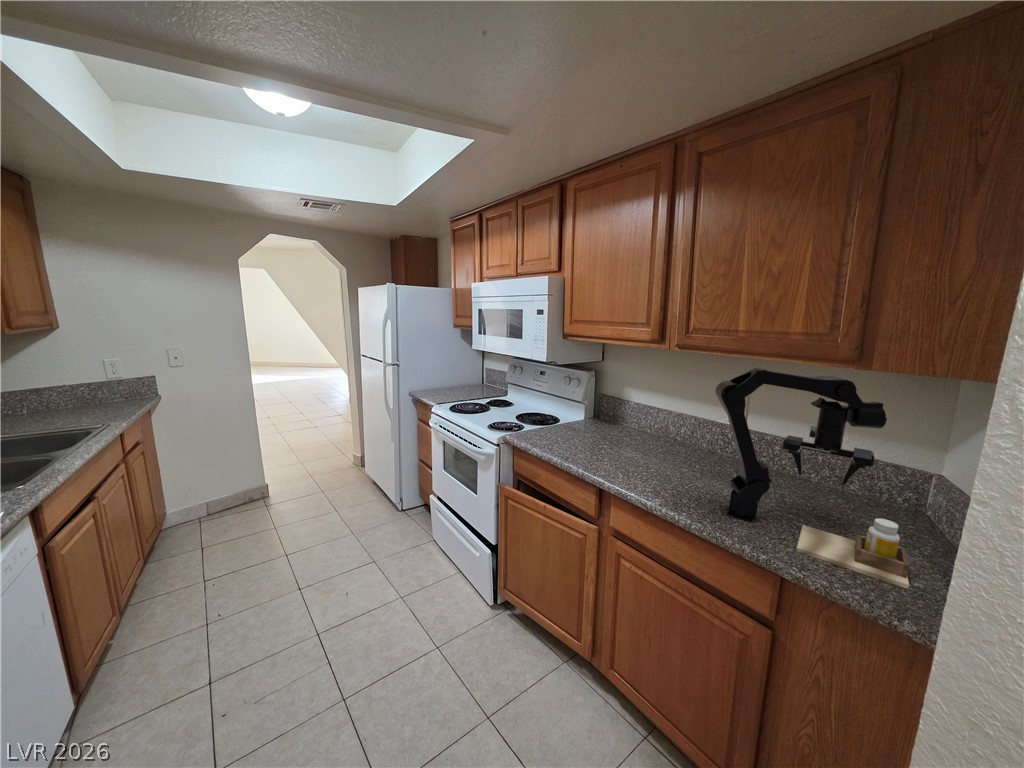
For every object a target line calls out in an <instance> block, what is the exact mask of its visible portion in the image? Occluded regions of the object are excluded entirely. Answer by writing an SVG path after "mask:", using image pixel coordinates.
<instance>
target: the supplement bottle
mask: <svg viewBox="0 0 1024 768" xmlns="http://www.w3.org/2000/svg"><path fill="white" fill-rule="evenodd" d="M898 532H899V525H898V524H897V523H896V522H894V521H892V520H888V519H885V518H875V519H874V522H873V525H872V526H870V527H869V528H868V529H867V534H866V536H865V537H866V542H865V546H864V550H865V551H868V552H871V553H875V554H878V555H881V556H884V557H888V558H891V559H894V560H895V558H896V554H897V550H898V546H899V547H900V541H901V538H900V534H898Z"/></svg>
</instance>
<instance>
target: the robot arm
mask: <svg viewBox="0 0 1024 768" xmlns="http://www.w3.org/2000/svg"><path fill="white" fill-rule="evenodd" d="M763 385H768V386H773V387H774V386H775V387H781V388H785V389H792V390H798V391H805V392H809V393H812V394H816V395H819V396H822V397H818V399H816V400H814V401H812V402H810V405H811V406H813V407H815V408H818V409H819V412H818V417H817V423H816V426H815V425H810V426H811V427H810V432H809V438H814V439H813V442H806V441H804V438H803V437H799V436H793V435H787V436H785V438H784V440H783V443H782V449H784V450H786V451H787V453H788V454H791V455H792V457H793V459H794V462H795V465H796V468H797V473H798V475H799V476H801V477H802V473H803V453H804V451H803V450H808V451H813V452H818V453H823V454H828V455H833V456H838V457H843V458H849V463H848V465H847V468H846V469H845V470H846V471H845V472H844V473H845V474H844V475H843V478H842V483H841V485H842V486H845V485H846V484H847V483H848V481H849V480H850V479H851V478H852V476H853V475H854V474H855V473H857V471H858V470H859V469H866V467H874V463H875V453H874V451H872V450H869V449H863V448H860V447H859V448H858V447H854V449H853V450H848V449H846V448H845V449H844V448H843V447H842V446H843V442H844V435H845V429H846V424H847V423H848V424H849V426H850V427H854V428H869V429H882V428H884V427H885V426H886V423H887V418H888V417H887V415H886V411H885V409H884V403H882V402H880V401H863V400H862V398H861V397H860V396H859V395H858V393H857V385H855V383H854V382H853V381H851V380H849V379H846V378H842V377H838V376H834V375H831V376H830V375H817V376H816V375H815V376H807V375H801V374H796V373H789V372H788V373H787V372H782V371H776V370H769V369H766V368H761V367H754V368H752V369H750V370H749V371H747V372H745V373H743V374H740V375H738V376H734V377H733V378H731V379H730V380H723V381H722V382H719V384H717V386H716V388H715V395H716V397H717V399H718V401H719V403H720V405H721V407H722V408H723V410H724V411H725V414H726V415H727V418H728V419H727V420H728V422H729V425H730V430H731V433H732V436H733V441H734V443H735V447H736V451H737V454H738V458H739V464H738V471H739V472H738V473H739V474H737V475H736V476H735V477H733V478H731V479H730V480H729V482H730V486H731V488H732V490H731V492H730V499H729V506H728V509H727V511H726V514H727V515H729V516H732V517H735V518H739V519H742V520H745V521H748V522H754V519H756V518H757V516H758V515H759V514H758V513H759V507H760V501H761V498H762V497H763V496H764V494H766V493H767V492H768V491H769V490H770V489H771V483H773V481H772V479H771V478H770V475H769V474H770V473H769V468H768V467H767V466H766V465H765V463H763V461H761V460H758V458H757V455H756V451H755V447H754V444H753V440H752V437H751V434H750V429H749V425H748V421H747V418H746V415H745V411H746V405H747V404H746V397H748V396H750V395H752V394H753V393H754V392H755V391H756V390H757V389H759V388H760V387H762V386H763ZM823 397H825V398H828V399H830V400H826V399H825V398H823ZM832 400H834V401H832ZM840 402H841V403H843V404H846V405H843V404H841V403H840Z"/></svg>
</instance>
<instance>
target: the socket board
mask: <svg viewBox="0 0 1024 768" xmlns="http://www.w3.org/2000/svg"><path fill="white" fill-rule="evenodd" d="M866 537H867V536H864V535H861V534H856V538H855V539H851V538H847V537H845V536H841V535H839V534H838V535H837V534H835V533H831V532H828V531H824V530H821V529H817V528H814V527H811V526H807V525H804V524H802V527H801V530H800V534H799V538H798V542H797V545H796V546H797V547H796V550H795V551H796V552H798V553H800V554H804V555H806V556H810V557H813V558H815V559H817V560H821V561H823V562H827V563H830V564H834V565H836V566H839V567H840V568H841V567H842V568H845V569H848V570H850V571H853V572H857V573H860V574H863V575H865V576H868V577H870V578H874V579H877V580H880V581H883V582H886V583H888V584H892V585H894V586H897V587H901V588H904V589H907V590H909V587H910V583H909V577H908V573H909V569H910V562H909V557H908V552H907V548H906V547H902V546H900V545H899V546H898V550H897V554H896V558H895V560H894V559H891V558H888V557H884V556H881V555H878V554H875V553H871V552H868V551H865V550H864V546H865V542H866Z"/></svg>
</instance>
